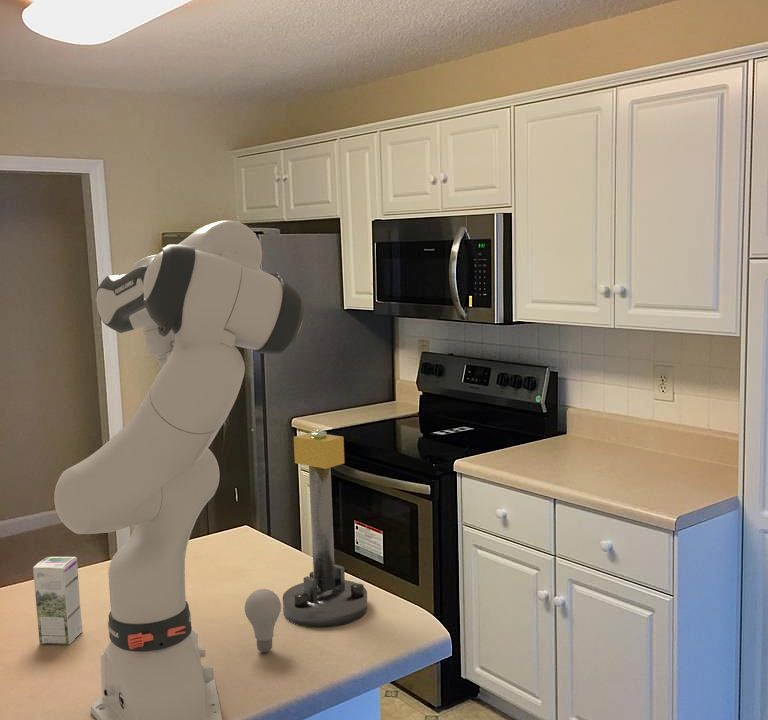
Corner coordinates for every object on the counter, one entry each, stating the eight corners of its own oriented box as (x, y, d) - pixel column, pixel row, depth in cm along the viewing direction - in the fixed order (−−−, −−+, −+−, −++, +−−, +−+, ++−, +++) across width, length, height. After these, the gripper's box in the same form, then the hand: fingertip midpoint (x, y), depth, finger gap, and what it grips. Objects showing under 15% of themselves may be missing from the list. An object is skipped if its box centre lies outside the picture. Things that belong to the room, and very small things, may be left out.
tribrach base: (384, 606, 166) (383, 568, 165) (327, 635, 154) (325, 595, 153) (324, 587, 176) (322, 552, 175) (265, 613, 164) (263, 576, 163)
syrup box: (83, 631, 159) (78, 555, 157) (69, 646, 153) (62, 566, 151) (53, 631, 159) (47, 554, 157) (38, 645, 153) (31, 566, 152)
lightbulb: (272, 662, 144) (269, 599, 143) (240, 657, 146) (237, 594, 145) (289, 646, 150) (286, 585, 149) (257, 642, 152) (254, 581, 151)
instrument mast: (351, 590, 164) (344, 428, 161) (329, 601, 160) (322, 434, 156) (320, 581, 170) (314, 424, 166) (298, 591, 165) (291, 430, 161)
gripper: (193, 335, 153) (211, 411, 154) (183, 342, 173) (199, 409, 173) (157, 343, 151) (176, 420, 152) (151, 349, 171) (167, 417, 171)
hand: (188, 414), depth 163 cm, fingers closed
